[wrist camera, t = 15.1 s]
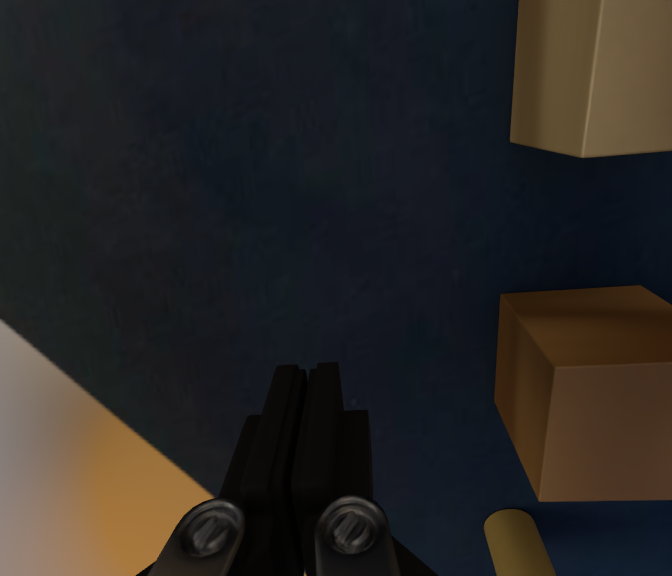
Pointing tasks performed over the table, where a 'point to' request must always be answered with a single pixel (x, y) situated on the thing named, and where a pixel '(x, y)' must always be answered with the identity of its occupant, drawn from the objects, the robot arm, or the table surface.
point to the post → (516, 545)
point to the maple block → (593, 77)
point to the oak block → (588, 391)
